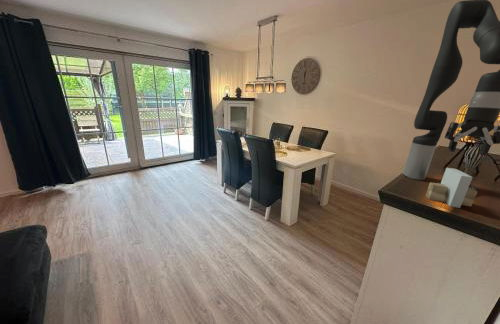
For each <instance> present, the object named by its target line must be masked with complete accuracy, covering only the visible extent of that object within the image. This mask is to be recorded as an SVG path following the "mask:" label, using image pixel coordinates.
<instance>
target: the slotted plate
mask: <svg viewBox="0 0 500 324" xmlns="http://www.w3.org/2000/svg"><path fill="white" fill-rule="evenodd" d="M473 178H474V177H473V176H471V175H469V174H467V173H465V172H463V171H461V170H460V169H457V168H452V167H446V168H445V171H444V173H443V175H442V179H441V181H440V182H441V184H444V185H445V186H447V187H448V188H447V191H446V193H447V194H448V195H449V196H448V198H447V201H446V202H445V204H446V205H448V206H449V207H453V208H457V209H458V208H459V209H460V208H461V207H462V205H461V204H462V202H463V200H464V197H465V195H466V192H467V190H468V188H469V186H470V185H471V184H472V180H473Z"/></svg>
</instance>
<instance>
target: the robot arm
mask: <svg viewBox="0 0 500 324" xmlns="http://www.w3.org/2000/svg"><path fill="white" fill-rule="evenodd" d="M447 16H448V17H447V19H446V23H445V26H444V30H443V34H442V39H441V42H440V45H439V50H438V54H437V56H436V58H435V62H434V65H433V68H432V70H431V74H430V76H429V79H428V83H427V86H426V90H425V92H424V96H423V98H422V101H421V103H420V106H419V108H418V111H417V113H416V115H415V118H414V123H413V126H414V128H415V129H416V130H421V131H423V130H424V131H429V132H427V133H425V134H422V135H418V136H415V137H413V139H412V141H411V145H410V147H409V152H408V156H407V158H406V162H405V165H404V169H403V172H402V175H403V174H404V175H405V176H404V175H403V176H404V177H406V176H407V177H406V178H409V179H412V180H413V179H414V180H419V181H422V180H423V181H424V180H425V179H426V178H427V177H426V176H427V174H428V171H429V168H430V166H431V163H432V160H433V156H434V153H435V150H436V147H437V144H438V142H439V141H440V139H441V136H442V134H443V131H444V129H445V126H446V124H447V121H448V113H447V112H446V111H445V110H432V109H431V107H432V106H433V104H434V102H435V101H436V100H437V99H438V98H439V97H441V95H442V94H443V93H445V92H446V91H447V90H448V89H449V88H451V87H452V86H453V84H455V83H456V81H457V80H458V78H459V74H461V73H460V72H461V69H462V67H463V63H464V62H463V56H462V54H461V52H460V49H459V46H458V33H459V30H460V29H471V28H473V29H475V30H474V32H473V35H472V39H473V42H474V44H475V45H476V46H477V47H478V49H479V60H480V61H481V63H483V64H486V65H500V20H499V18H498V16H497V14H496V10H495V9H494V6H493V4H492V2H491V1H490V0H460V1H458V2H456V3H454V5H453V6H452V8H451V10H450V12H449V14H448V15H447ZM472 95H473V96H471V98H470V101H469V104H468V107H467V109H466V112H465V114H464V117H463V121H462V122H461V123H460V122H455V121H452V122H450V123H449V126H448V128H447V130H446V133H445V135H444V138H445V139H447V140H449V144H448V146H447V149H448V152H451V153H455V151H456V148H457V146H458V143H459V142H458V141H460V140H461V139H464V138H465V137H476V138H480V139H481V141H482V142H483V143H482V144H481V146H480V149H479V151H478V154H479V155H480V156H486V155H487V154H488V153H489V151H490V149H491V147H492V145H498V144H500V124H499V125H495V123H496V121H497V119H498V118H499V115H500V69H498V70H497V71H493V72H487V73H485V74H483V75H481V76H480V78H479V79H478V83H477V85H476V88H475V90H474V93H473V94H472ZM459 128H460V130H459V131H458V132H456V131H457V130H458V129H459ZM492 131H493V134H492V136H491V134H490V132H492Z"/></svg>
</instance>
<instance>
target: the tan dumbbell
mask: <svg viewBox="0 0 500 324" xmlns="http://www.w3.org/2000/svg"><path fill="white" fill-rule="evenodd" d="M438 183H439V182H429V185H428V188H427V191H426V194H425V197H426V198H427V199H428V200H432V201H436V202H442V203H446V201H447V198H448V196H449V195H448V194H447V193H446V191H447V188H448V187H447V186H445V185H444V184H438ZM477 195H478V190H477V191H475V190H474V189H471V188H468V190H467V192H466V195H465V197H464V200H463V202H462V204H461V206H466V207H472V205H473V203H474V202H475V199H476V196H477Z"/></svg>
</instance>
